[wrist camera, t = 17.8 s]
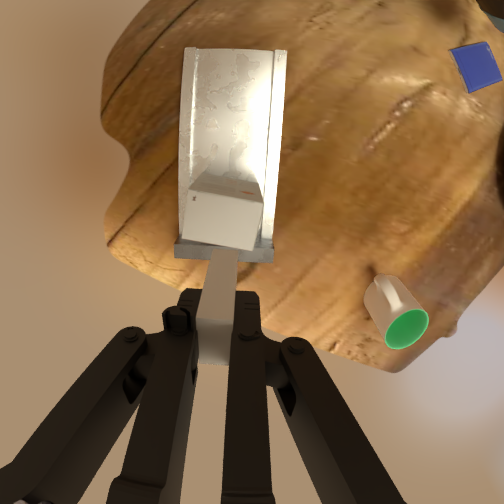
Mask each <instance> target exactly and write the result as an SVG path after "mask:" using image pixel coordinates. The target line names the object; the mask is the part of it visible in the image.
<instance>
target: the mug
mask: <svg viewBox="0 0 504 504" xmlns="http://www.w3.org/2000/svg"><path fill="white" fill-rule="evenodd" d="M364 305H365V307H366V309H367V310H368V312H369V314H370V316H371V317H372V319H373V321H374V323H375V325H376V326H377V328H378V330H379V332H380V334H381V335H382V337H383V339H384V341H385V343H386V345H387V346H388V347H390V348H392V349H402V348H405V347H408V346H410V345H411V344H413V343H414V342H416V341H417V340H418V339H419V338H420V337H421V336H422V335H423V333H424V332H425V330H426V328H427V326H428V321H429V318H428V314H427V313H426V312H425V310H424V309H423V308H422V306H421V305H420V304H419V303H418V301H417V300H416V299H415V298H414V296H413V295H412V294H411V293H410V292H409V290H408V289H407V288H406V287H405V286H404V284H403V283H402V282H401V281H400V280H399V278H397V277H396V276H393V275H385V274H383V273H380V274H378V275H376V276H375V277H374V281H373V282H372V283H371V284H370V285H369V286H368V288H367V289H366V291H365V294H364Z"/></svg>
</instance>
